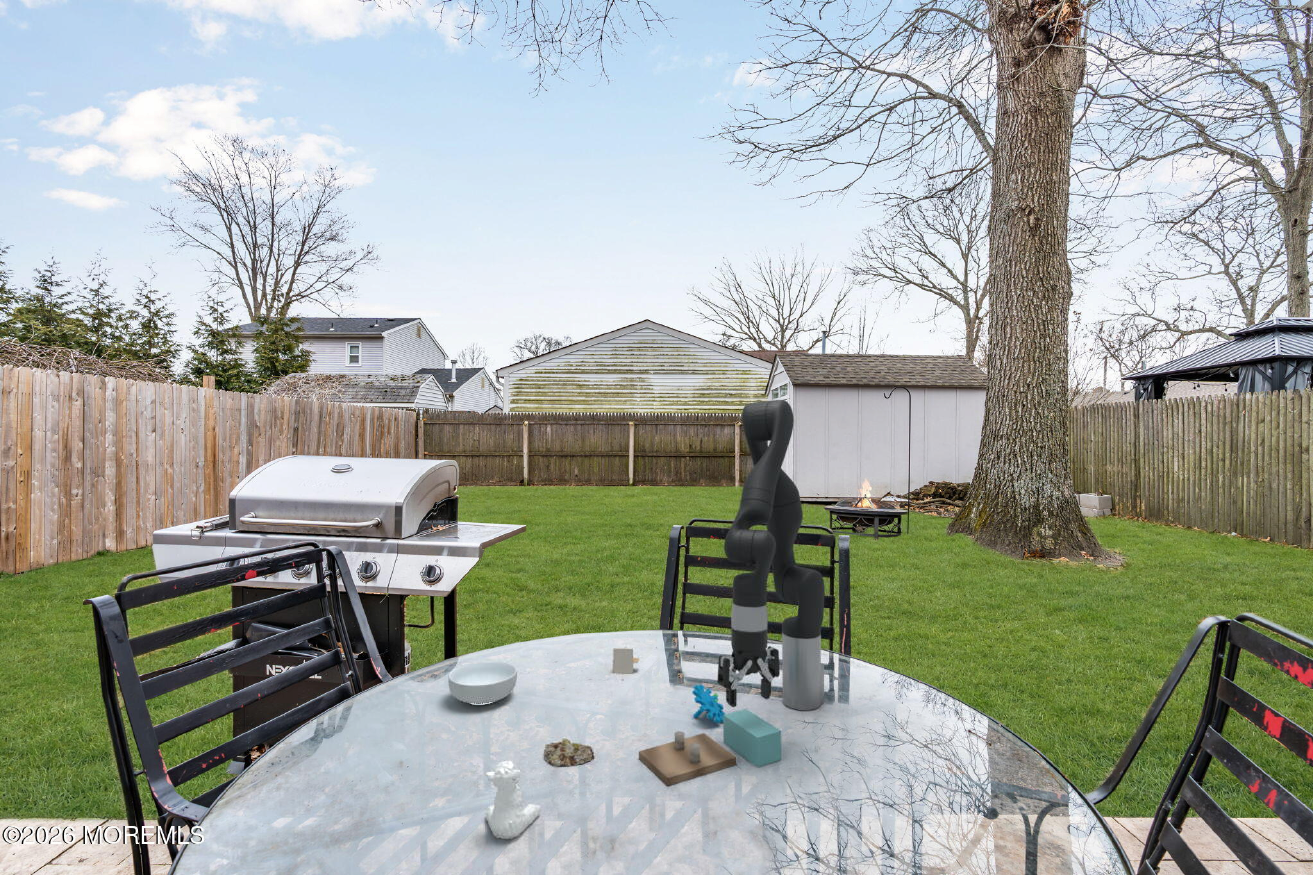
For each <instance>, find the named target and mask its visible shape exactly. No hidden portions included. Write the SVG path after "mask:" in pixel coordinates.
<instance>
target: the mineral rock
mask: <svg viewBox="0 0 1313 875" xmlns="http://www.w3.org/2000/svg"><path fill="white" fill-rule="evenodd" d="M544 746H545V749H544V751H543V756H544V761H545V762H547V763H548V764H550V765H552V766H553V767H556V768H557V767H571V766H576V765H575V764H579V765H581V764H582V765H584V764H585V763H588V761H589V762H590V761H591V760H593V759H595V755H594V754H595V752H594V751H593V748H592V746H590V745H585V744H583V743H577V742H575V743H574V742H571V740H569V739H567V738H563V739H562V740H561V741H558V742H550V743H546V744H545V745H544ZM592 758H593V759H592ZM570 765H571V766H570Z"/></svg>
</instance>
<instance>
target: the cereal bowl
mask: <svg viewBox="0 0 1313 875" xmlns="http://www.w3.org/2000/svg"><path fill="white" fill-rule="evenodd" d="M517 678H518V670H517V667H516V666H515V665H514V664H512V663H509V662H505V661H498V660H497V661H496V660H484V661H474V662H470V663H465V664H462V665H460V666H458V667H456V668H454V669H452V670H451V671H450V672H449V674H448V688H449V691H450V693H451V695H452V696H453V697H454V698H455V699H457V700H459V701H460V702H462V701H463V703H466V702H467V704H468V703H474V704H475V703H476V704H481V703H482V704H483V703H489V702H494V701H496V702H498V701H499V700H501V699H502V700H503V699H504V698H506V697H507V696H508V695H510V694H511V692H512V691H514V689H515V688H516V683H517ZM497 700H498V701H497Z"/></svg>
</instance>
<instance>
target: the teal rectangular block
mask: <svg viewBox="0 0 1313 875" xmlns="http://www.w3.org/2000/svg"><path fill="white" fill-rule="evenodd" d="M722 723H723V724H722V726H723V728H722V729H723V731H722V732H723V735H722V737H723V738H722V739H723V742H722V743H723V744H725V745H726V746H728V747H729V748H730V749H732V750H733V751H734V752H736V753H737V754H739V755H741V756H742V757H743V758H744V759H746V760H747V761H748V762H750V763H751V764H752V765H754V766H755V767H757V768H760V767H764V766H766V765H769V764H773V763H775V762H777V761H781V760H782V730H781V729H779V728H778V727H776V726H774V725H773V724H771V723H770V722H768V721H766V720H764V719H763V718H761V717H759V716H758V715H756V714H755V713H753V712H752V711H750V710H748V708H744V709H741V710H736V711H732V712H729V713H728V712H727V713H725V714H724V715H723V722H722Z"/></svg>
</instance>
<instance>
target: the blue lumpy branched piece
mask: <svg viewBox="0 0 1313 875" xmlns="http://www.w3.org/2000/svg"><path fill="white" fill-rule="evenodd" d="M692 694H693V696H695V697H694V699H693V700H694V703H696V704H699V705H700V706H699V707H698V708H699V709H698V710H697V711H695V712H694V714H693V715H692V716H693V718H694V719H697V718H699V717H700V715H702V714H703V713H704V712H707V714H706V717H707V719H708V720H709V721H712V719H713V722H714V723H716V724H717V725H719V723H721V724H722V723H723V715H724V714H726V713H725V711H723V710H724V709H725V708H724V705H723V704H722V703H719V698H718V697H719V695H718V693H717V692H715V693H714V694H713V693H712V690H711V689H710V688H709V687H707V688H706V687H705V685H703V684H702V683H700V684H695V685H694V686H693V691H692ZM711 694H713V695H711Z"/></svg>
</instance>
